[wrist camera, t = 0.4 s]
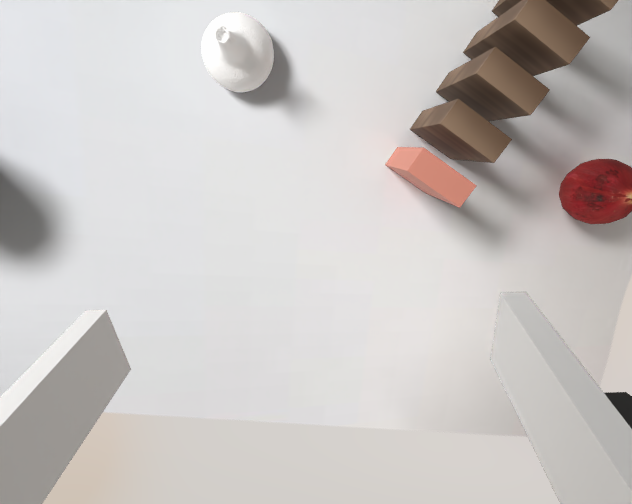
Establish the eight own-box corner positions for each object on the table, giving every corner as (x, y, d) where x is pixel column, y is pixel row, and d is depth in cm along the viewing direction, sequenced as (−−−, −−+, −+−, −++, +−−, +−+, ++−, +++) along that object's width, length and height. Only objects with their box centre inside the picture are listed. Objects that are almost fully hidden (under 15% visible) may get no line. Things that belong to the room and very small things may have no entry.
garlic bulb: (195, 52, 36) (155, 33, 28) (243, 0, 34) (214, -34, 26) (242, 107, 37) (215, 104, 29) (290, 60, 35) (275, 43, 28)
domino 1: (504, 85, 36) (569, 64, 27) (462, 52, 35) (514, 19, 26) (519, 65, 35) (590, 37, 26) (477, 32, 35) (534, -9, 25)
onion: (538, 216, 39) (593, 233, 31) (547, 158, 38) (606, 161, 30) (596, 216, 39) (664, 233, 31) (606, 157, 37) (682, 160, 30)
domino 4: (425, 193, 38) (459, 207, 29) (385, 164, 38) (407, 170, 29) (437, 176, 38) (476, 185, 29) (397, 147, 37) (423, 147, 28)
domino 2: (477, 122, 37) (530, 115, 28) (435, 91, 36) (476, 73, 27) (490, 104, 36) (549, 89, 27) (449, 72, 35) (495, 46, 26)
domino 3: (450, 158, 38) (494, 162, 28) (409, 129, 37) (440, 123, 28) (463, 141, 37) (512, 139, 28) (422, 110, 36) (458, 98, 27)
